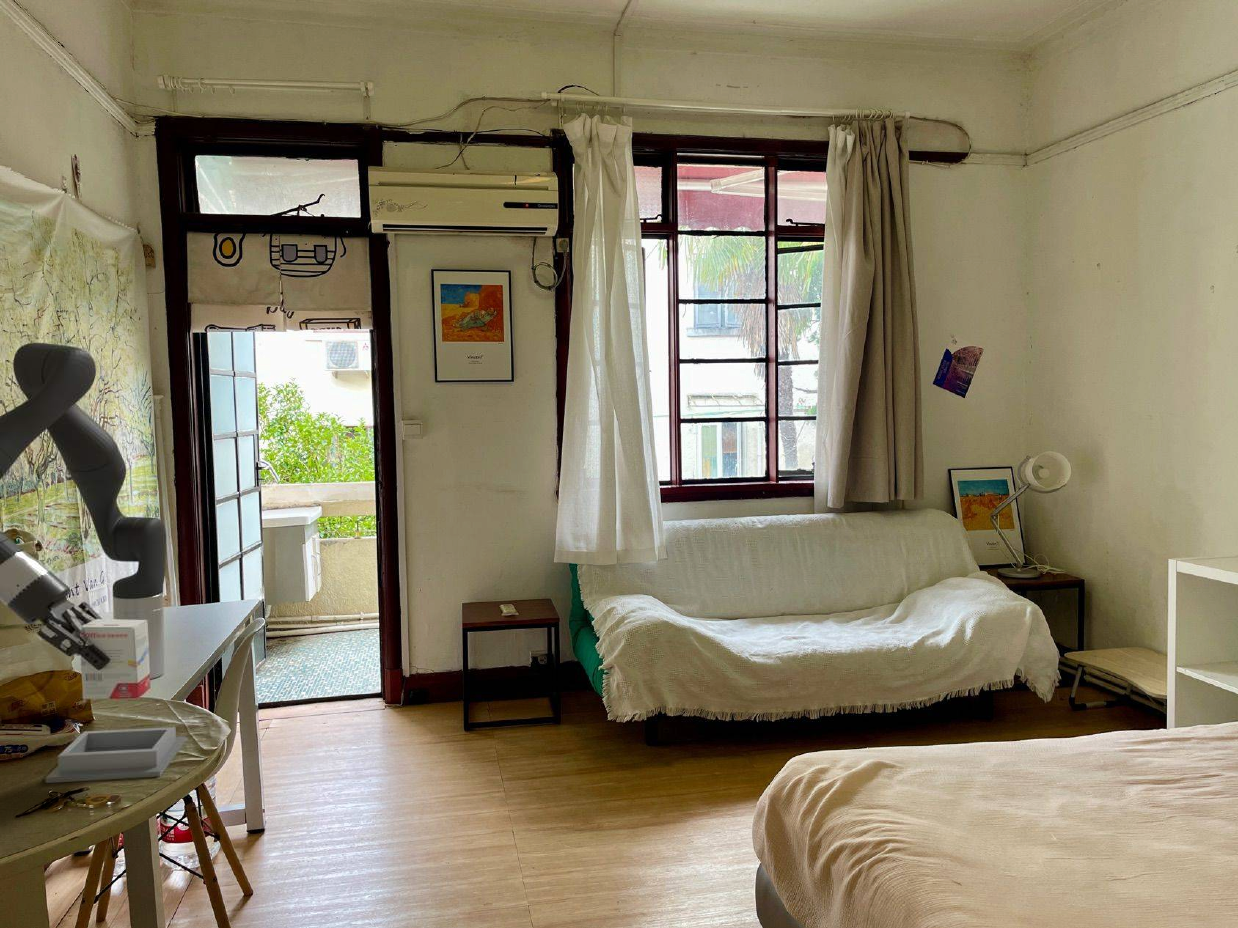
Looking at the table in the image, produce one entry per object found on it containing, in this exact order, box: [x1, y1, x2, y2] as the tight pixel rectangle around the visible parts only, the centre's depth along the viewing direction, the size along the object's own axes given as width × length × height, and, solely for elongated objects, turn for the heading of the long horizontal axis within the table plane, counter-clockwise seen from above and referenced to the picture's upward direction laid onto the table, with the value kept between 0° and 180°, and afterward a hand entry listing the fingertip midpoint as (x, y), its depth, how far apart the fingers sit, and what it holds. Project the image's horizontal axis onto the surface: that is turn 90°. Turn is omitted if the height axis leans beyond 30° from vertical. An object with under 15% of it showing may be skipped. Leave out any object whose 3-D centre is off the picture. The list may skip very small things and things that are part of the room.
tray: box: [45, 726, 187, 784], centre depth 141 cm, size 14×16×3 cm
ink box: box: [80, 618, 151, 700], centre depth 140 cm, size 9×5×12 cm, turn 93°
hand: (112, 659), depth 140 cm, fingers closed on ink box, 5 cm apart
